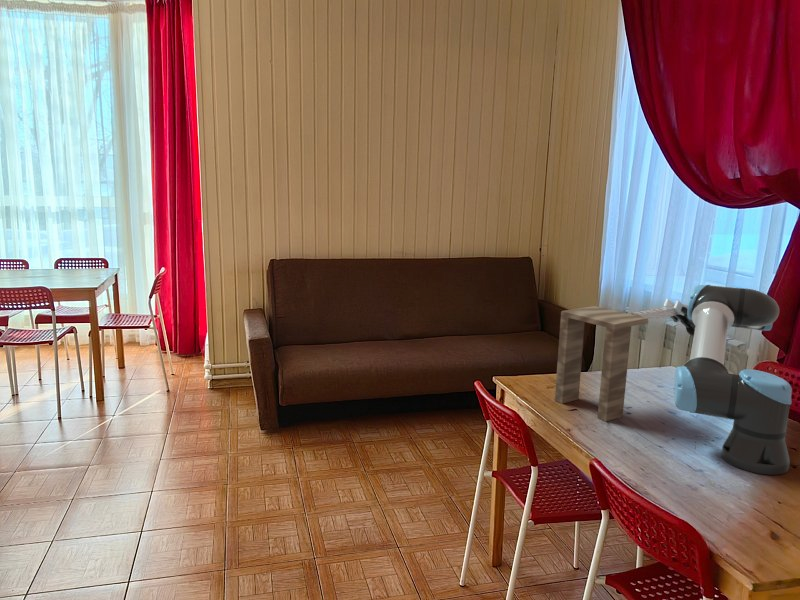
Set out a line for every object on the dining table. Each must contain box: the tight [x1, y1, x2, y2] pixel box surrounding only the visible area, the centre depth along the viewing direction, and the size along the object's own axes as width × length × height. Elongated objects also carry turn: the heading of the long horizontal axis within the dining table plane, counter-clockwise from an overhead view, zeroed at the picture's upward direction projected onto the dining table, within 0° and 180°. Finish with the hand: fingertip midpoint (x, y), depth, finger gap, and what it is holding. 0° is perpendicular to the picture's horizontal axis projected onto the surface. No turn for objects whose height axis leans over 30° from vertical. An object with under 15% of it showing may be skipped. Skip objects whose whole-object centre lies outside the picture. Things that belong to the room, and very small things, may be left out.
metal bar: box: [630, 304, 688, 321], centre depth 199 cm, size 3×28×2 cm, turn 123°
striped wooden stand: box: [554, 305, 649, 422], centre depth 189 cm, size 20×16×30 cm
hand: (671, 303), depth 201 cm, fingers closed on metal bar, 3 cm apart
